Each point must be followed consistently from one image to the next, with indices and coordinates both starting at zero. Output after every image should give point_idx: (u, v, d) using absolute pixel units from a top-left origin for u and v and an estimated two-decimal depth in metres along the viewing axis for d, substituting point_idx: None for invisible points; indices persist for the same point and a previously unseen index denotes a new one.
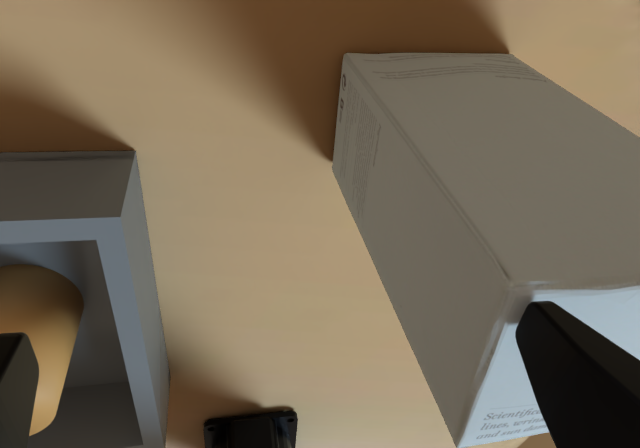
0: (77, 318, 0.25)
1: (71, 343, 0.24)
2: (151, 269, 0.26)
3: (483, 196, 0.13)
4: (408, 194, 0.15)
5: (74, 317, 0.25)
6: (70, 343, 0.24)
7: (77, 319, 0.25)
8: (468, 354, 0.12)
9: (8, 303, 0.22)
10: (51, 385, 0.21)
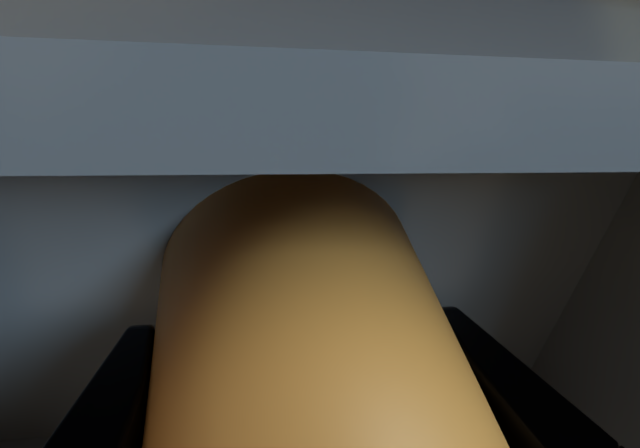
0: (307, 216, 0.08)
1: (331, 282, 0.07)
2: None
3: None
4: None
5: (289, 227, 0.08)
6: (324, 288, 0.07)
7: (310, 217, 0.08)
8: None
9: None
10: None
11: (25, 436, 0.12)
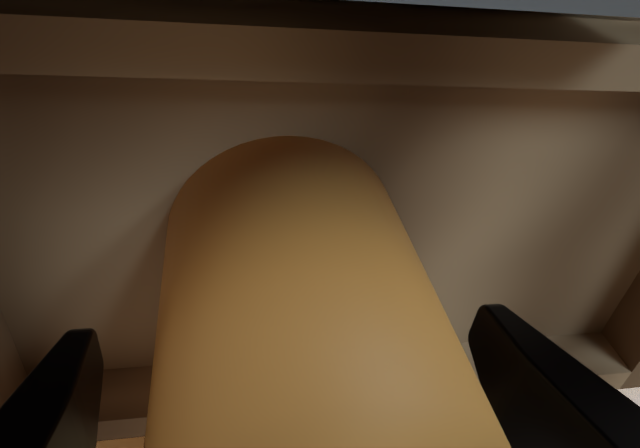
0: (298, 172, 0.09)
1: (317, 223, 0.08)
2: None
3: None
4: None
5: (281, 181, 0.09)
6: (310, 228, 0.08)
7: (300, 173, 0.09)
8: None
9: (158, 315, 0.09)
10: (293, 389, 0.06)
11: None
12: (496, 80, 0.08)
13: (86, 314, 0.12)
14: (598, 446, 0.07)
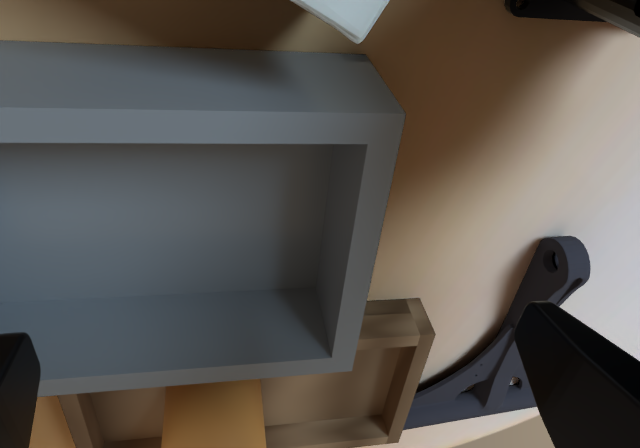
0: None
1: (214, 407, 0.24)
2: (84, 50, 0.17)
3: None
4: None
5: (205, 385, 0.25)
6: (211, 409, 0.24)
7: None
8: None
9: (162, 432, 0.25)
10: None
11: (17, 300, 0.22)
12: None
13: (131, 418, 0.28)
14: None
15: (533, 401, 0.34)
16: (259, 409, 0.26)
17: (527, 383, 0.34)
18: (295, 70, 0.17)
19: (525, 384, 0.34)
